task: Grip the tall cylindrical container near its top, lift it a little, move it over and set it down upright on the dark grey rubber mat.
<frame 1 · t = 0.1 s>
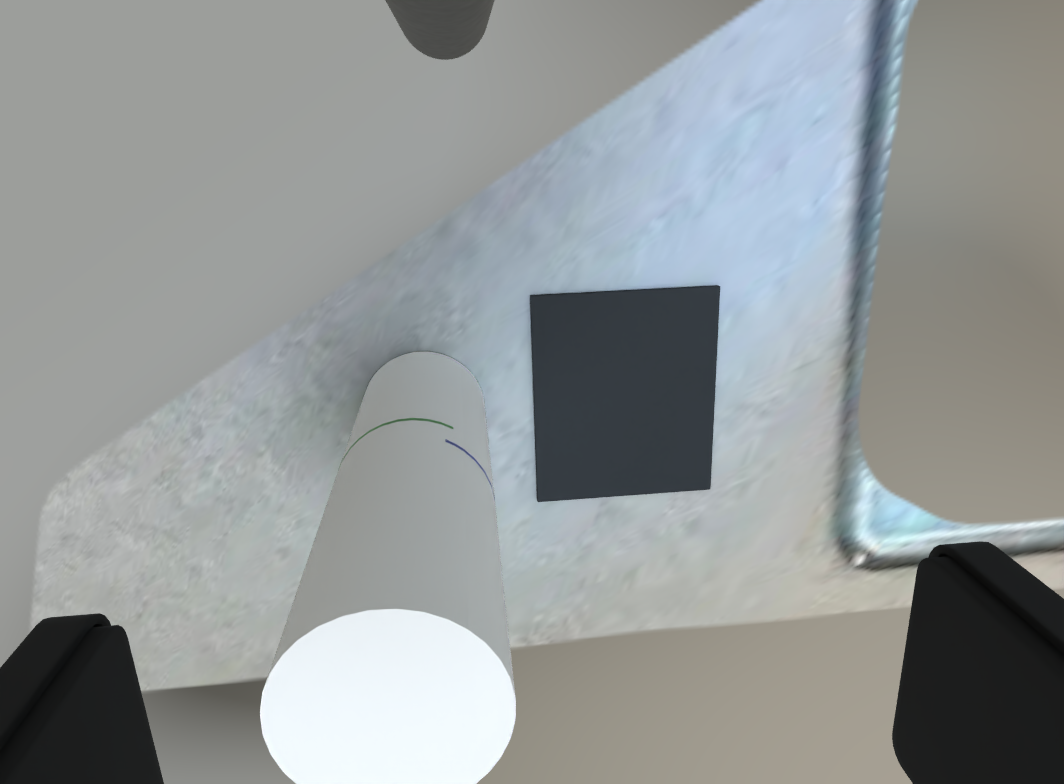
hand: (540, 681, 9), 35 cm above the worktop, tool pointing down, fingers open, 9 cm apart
cylindrical container: (424, 408, 45), on the worktop
mat: (624, 396, 46), on the worktop
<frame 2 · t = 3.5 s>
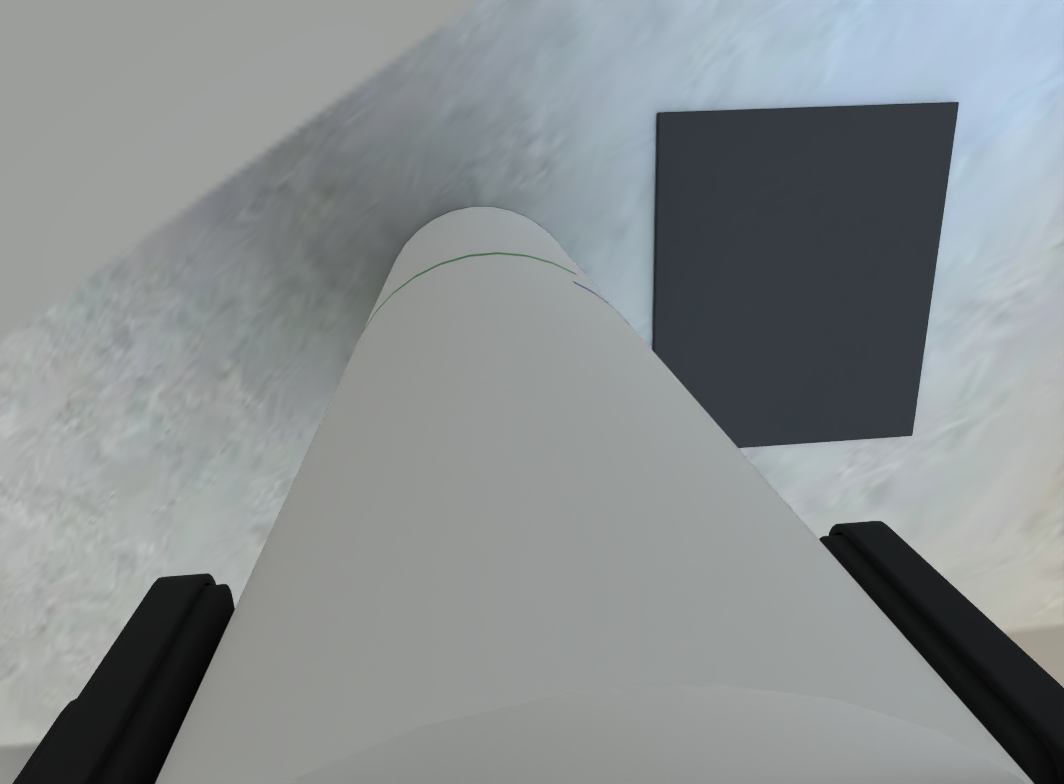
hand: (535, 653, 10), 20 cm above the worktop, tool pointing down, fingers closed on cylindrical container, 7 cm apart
cylindrical container: (482, 303, 29), on the worktop, touching gripper
mat: (793, 287, 29), on the worktop
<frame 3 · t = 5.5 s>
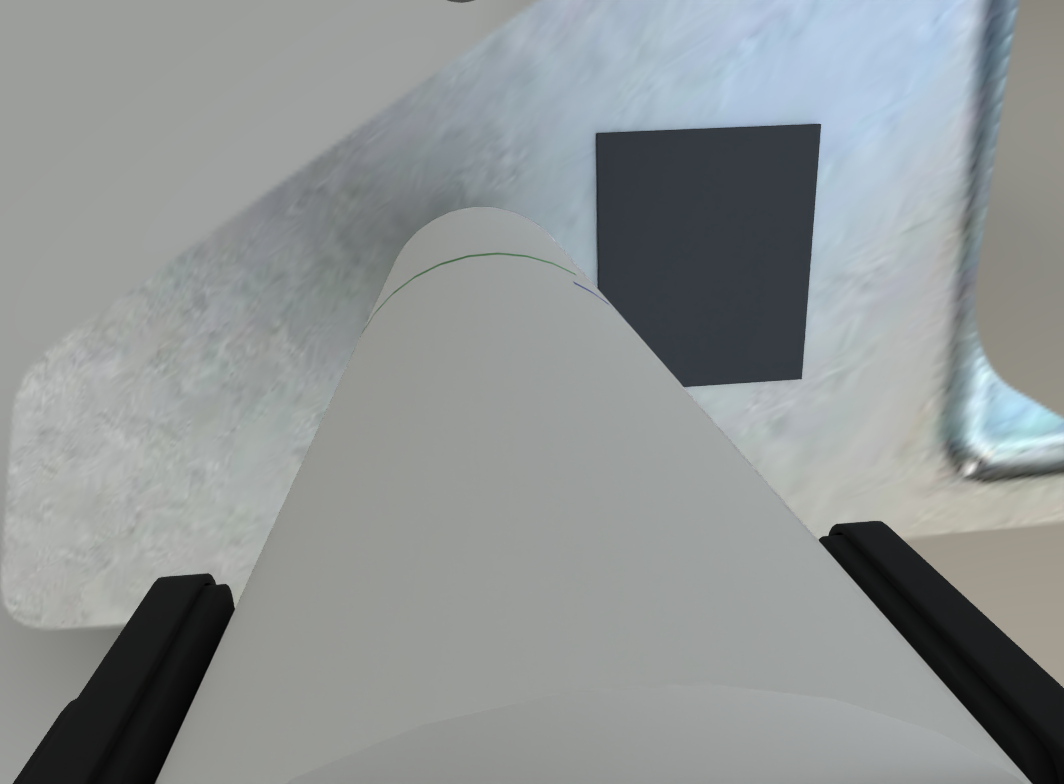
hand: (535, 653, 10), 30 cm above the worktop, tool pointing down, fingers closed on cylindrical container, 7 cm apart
cylindrical container: (482, 303, 29), point 10 cm above the worktop, touching gripper
mat: (704, 263, 39), on the worktop
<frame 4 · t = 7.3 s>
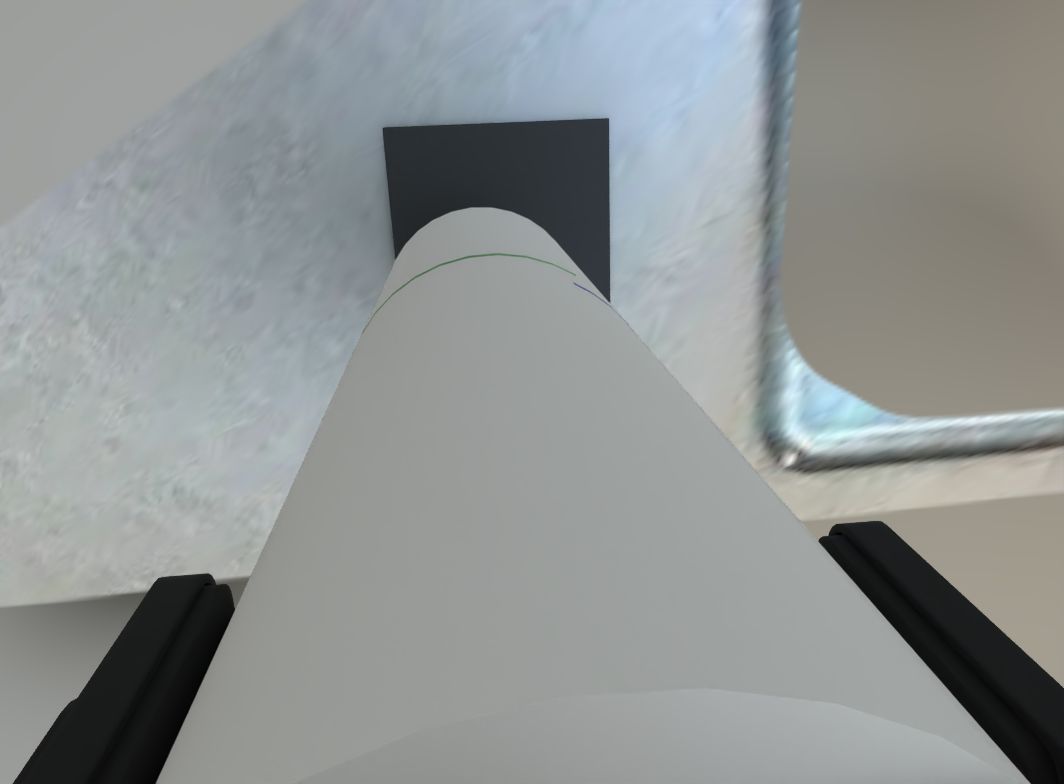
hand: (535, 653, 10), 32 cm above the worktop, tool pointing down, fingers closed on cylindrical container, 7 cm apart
cylindrical container: (482, 303, 29), point 11 cm above the worktop, touching gripper
mat: (503, 256, 39), on the worktop
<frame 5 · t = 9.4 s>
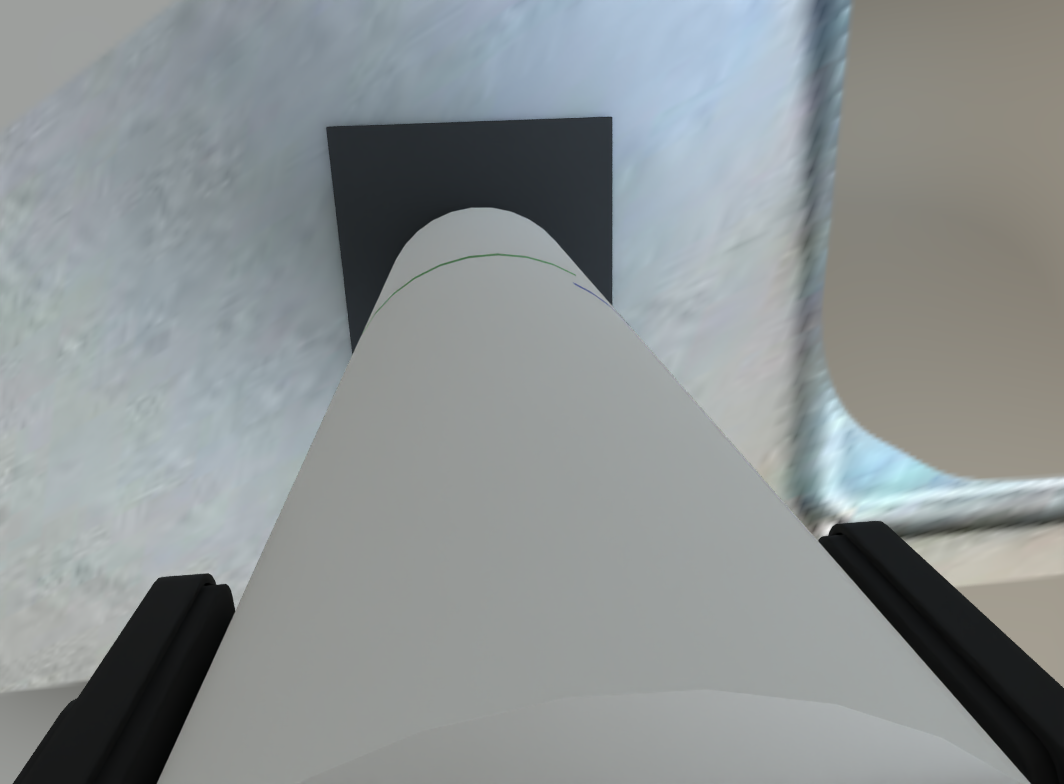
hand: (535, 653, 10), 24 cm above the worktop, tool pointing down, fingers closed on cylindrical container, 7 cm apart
cylindrical container: (482, 303, 29), point 3 cm above the worktop, touching gripper
mat: (480, 287, 32), on the worktop
when the fingers open (21 cm above the worktop, at t = 10.9 s): cylindrical container stays where it is, resting on mat.
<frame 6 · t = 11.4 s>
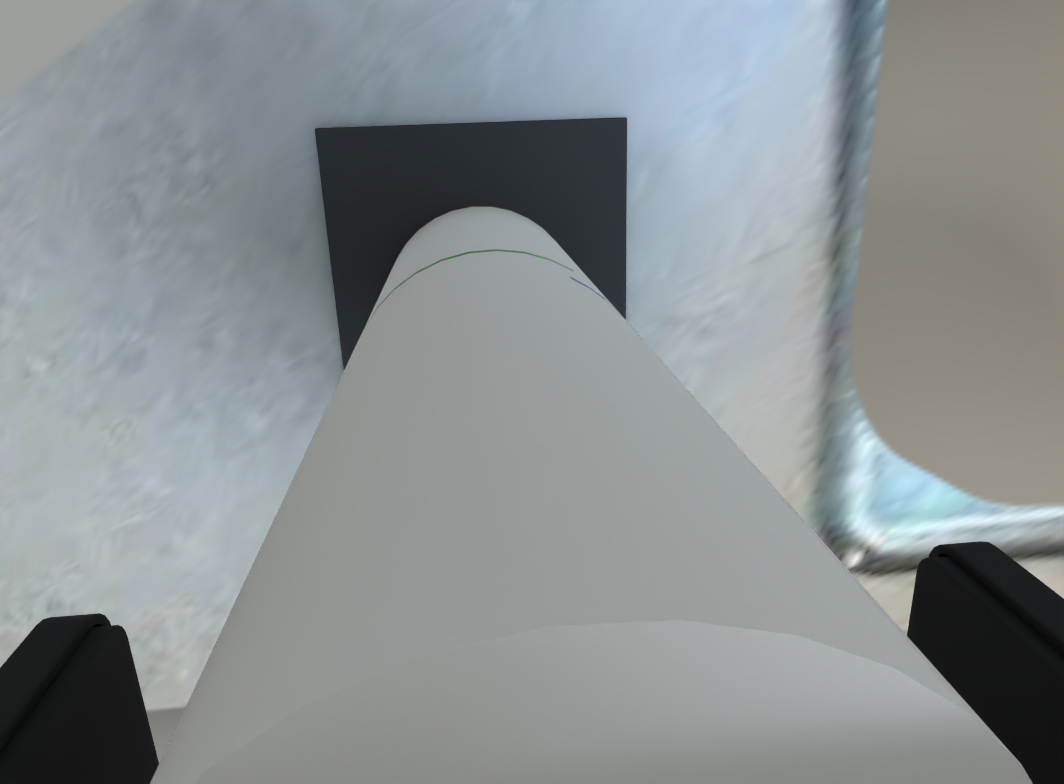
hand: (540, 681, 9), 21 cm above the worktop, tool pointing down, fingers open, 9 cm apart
cylindrical container: (482, 301, 29), resting on mat
mat: (483, 302, 29), on the worktop
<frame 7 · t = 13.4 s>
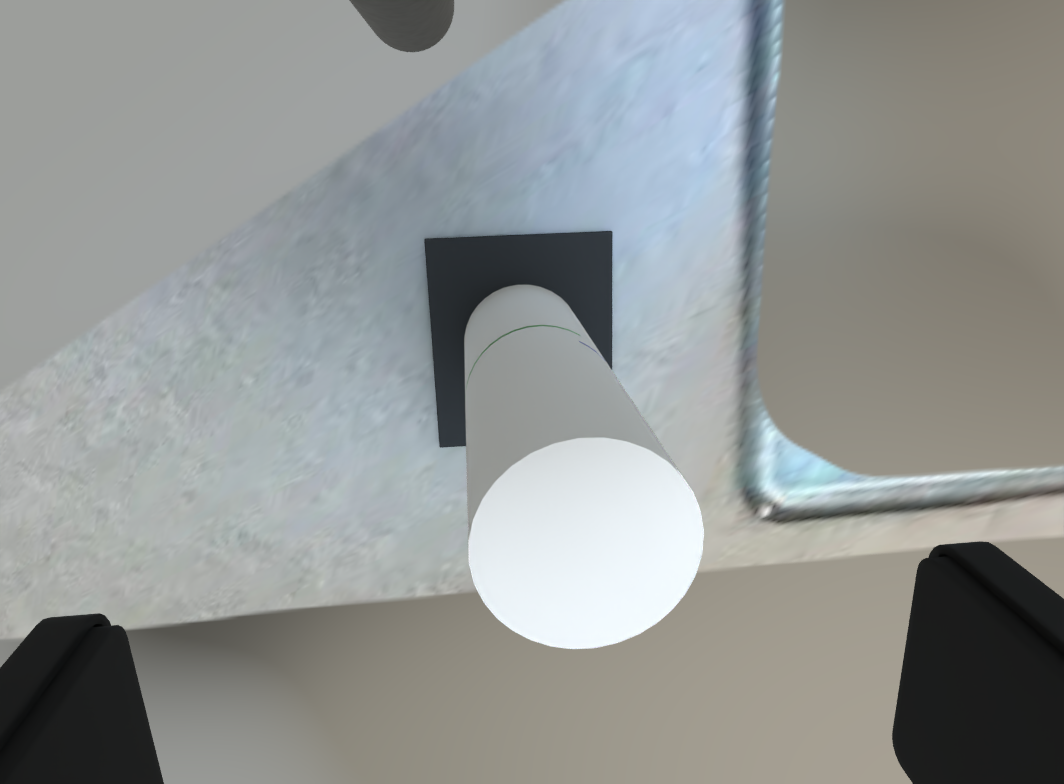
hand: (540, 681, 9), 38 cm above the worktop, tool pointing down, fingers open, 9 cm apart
cylindrical container: (522, 341, 47), resting on mat
mat: (522, 342, 47), on the worktop
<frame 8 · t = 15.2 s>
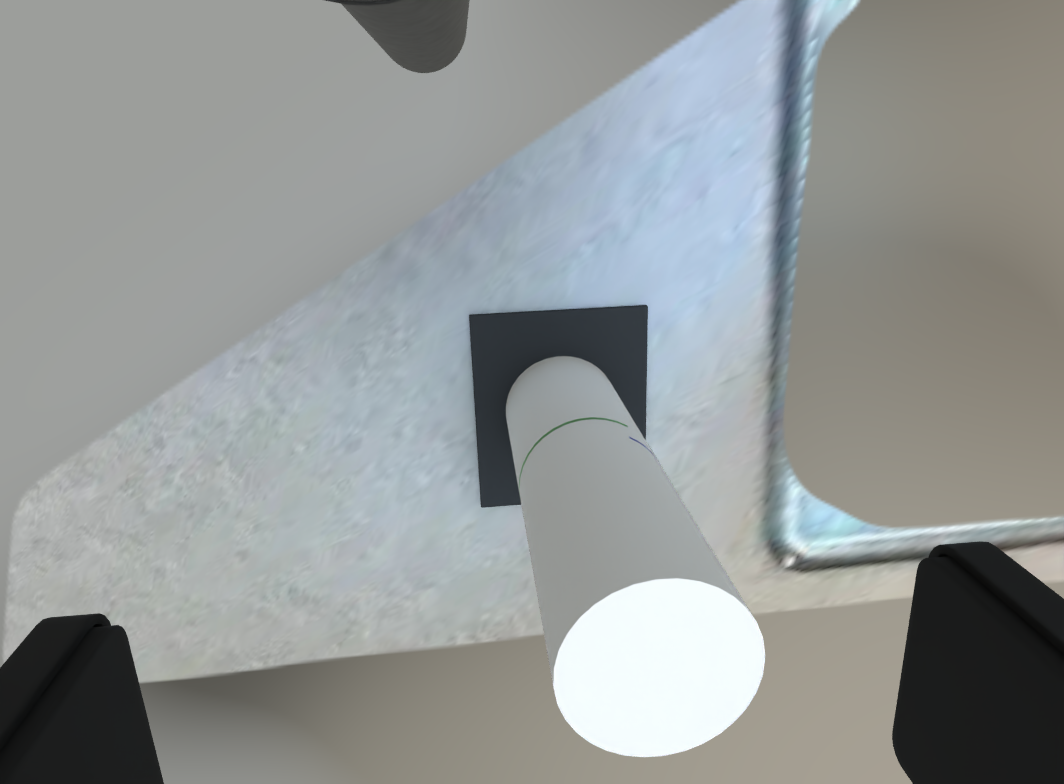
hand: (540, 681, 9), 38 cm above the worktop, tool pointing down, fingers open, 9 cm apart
cylindrical container: (561, 408, 49), resting on mat
mat: (561, 408, 49), on the worktop
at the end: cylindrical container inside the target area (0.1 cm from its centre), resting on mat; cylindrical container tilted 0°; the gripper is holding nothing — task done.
